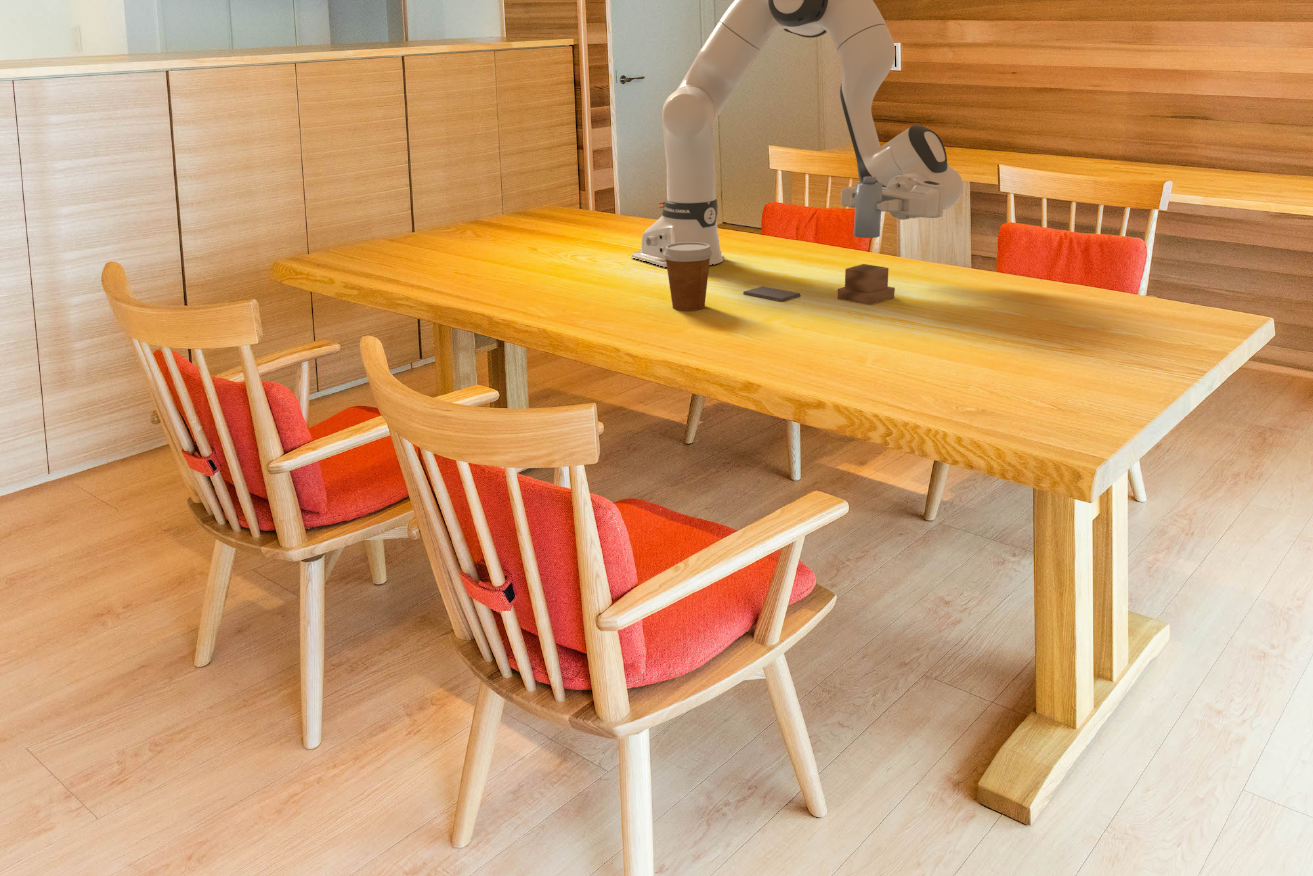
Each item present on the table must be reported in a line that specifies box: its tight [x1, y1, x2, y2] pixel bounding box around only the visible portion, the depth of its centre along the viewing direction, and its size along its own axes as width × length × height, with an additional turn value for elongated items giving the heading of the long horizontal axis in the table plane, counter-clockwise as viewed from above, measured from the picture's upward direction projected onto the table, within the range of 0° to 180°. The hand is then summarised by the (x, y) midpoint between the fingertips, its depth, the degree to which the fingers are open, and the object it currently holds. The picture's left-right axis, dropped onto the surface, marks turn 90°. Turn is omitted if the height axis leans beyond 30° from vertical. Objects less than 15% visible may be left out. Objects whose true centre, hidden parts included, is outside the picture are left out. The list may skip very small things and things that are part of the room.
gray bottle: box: [853, 177, 883, 239], centre depth 220 cm, size 5×5×11 cm
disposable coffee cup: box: [663, 242, 712, 312], centre depth 221 cm, size 10×10×12 cm
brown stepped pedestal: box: [837, 263, 896, 306], centre depth 225 cm, size 8×8×6 cm
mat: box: [743, 285, 801, 302], centre depth 231 cm, size 10×6×1 cm, turn 44°
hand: (865, 205), depth 219 cm, fingers closed on gray bottle, 5 cm apart
